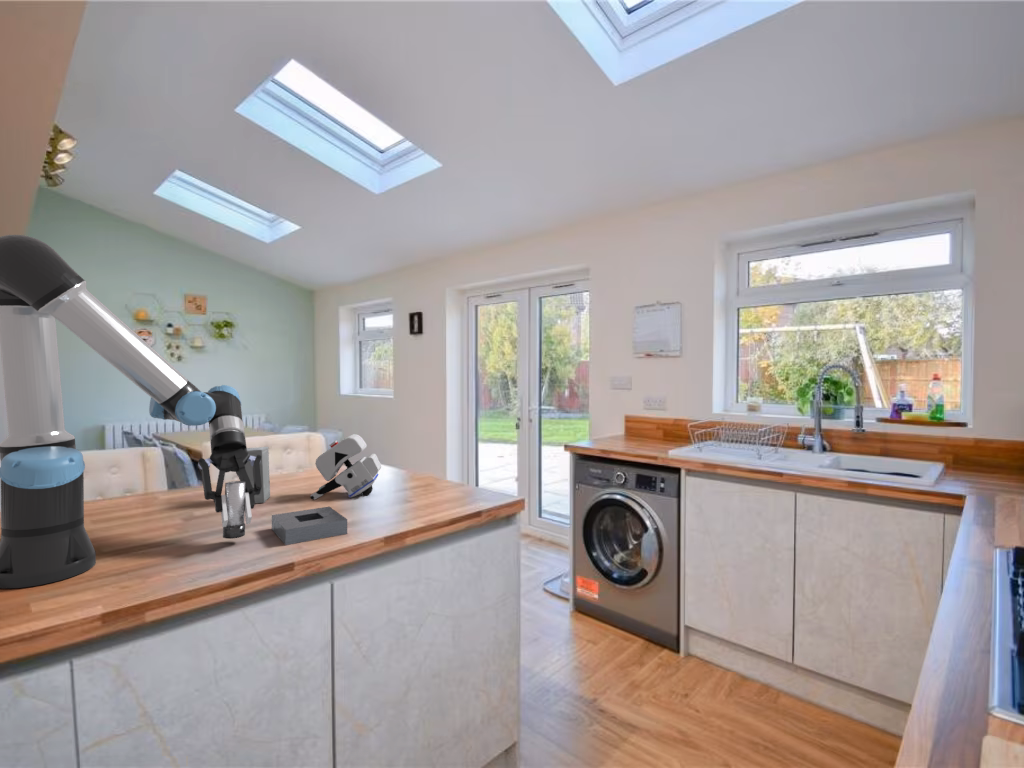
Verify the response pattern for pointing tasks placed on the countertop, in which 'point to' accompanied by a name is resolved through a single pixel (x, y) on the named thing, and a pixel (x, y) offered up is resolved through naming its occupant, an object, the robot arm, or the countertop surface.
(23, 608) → the countertop surface
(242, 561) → the countertop surface
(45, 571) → the robot arm
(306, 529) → the chuck block
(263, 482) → the product box
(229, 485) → the grey black cylinder
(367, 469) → the robotic device
